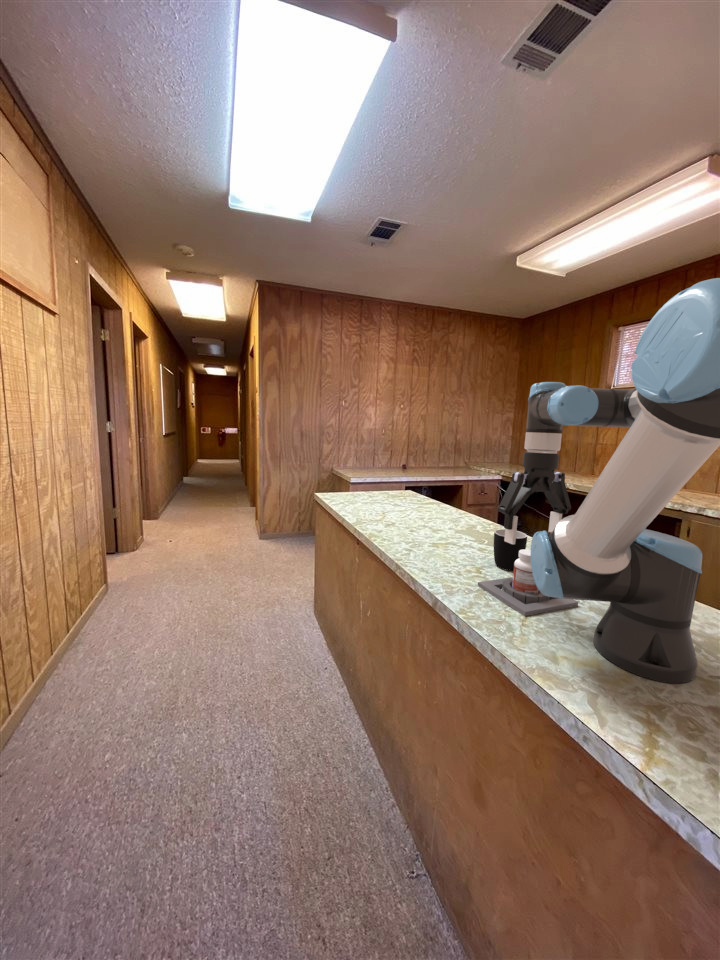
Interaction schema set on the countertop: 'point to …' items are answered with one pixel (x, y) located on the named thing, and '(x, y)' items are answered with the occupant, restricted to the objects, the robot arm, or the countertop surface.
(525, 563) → the pill bottle
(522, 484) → the robot arm
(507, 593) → the grey plate with hole
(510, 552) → the mug
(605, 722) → the countertop surface
